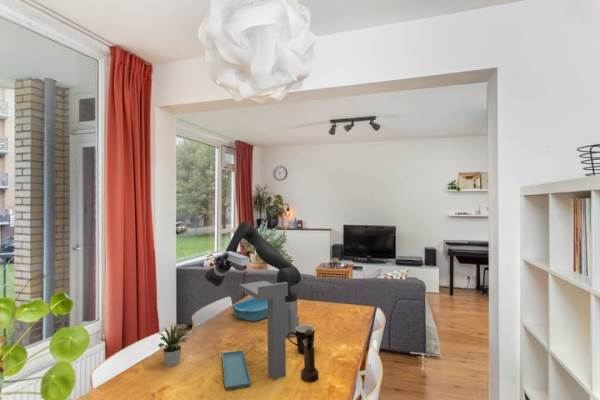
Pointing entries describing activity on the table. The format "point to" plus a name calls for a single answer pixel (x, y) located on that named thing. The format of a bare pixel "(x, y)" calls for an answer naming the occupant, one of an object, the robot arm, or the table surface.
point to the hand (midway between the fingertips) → (232, 254)
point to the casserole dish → (251, 309)
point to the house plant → (172, 346)
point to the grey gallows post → (272, 322)
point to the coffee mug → (302, 337)
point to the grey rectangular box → (237, 258)
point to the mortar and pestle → (309, 360)
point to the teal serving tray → (235, 370)
